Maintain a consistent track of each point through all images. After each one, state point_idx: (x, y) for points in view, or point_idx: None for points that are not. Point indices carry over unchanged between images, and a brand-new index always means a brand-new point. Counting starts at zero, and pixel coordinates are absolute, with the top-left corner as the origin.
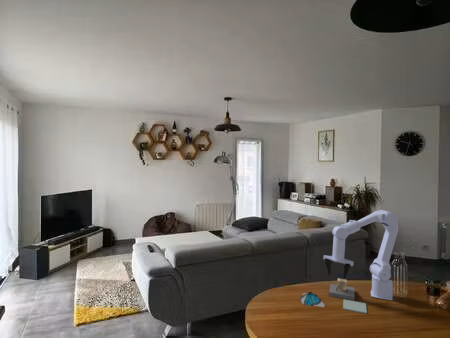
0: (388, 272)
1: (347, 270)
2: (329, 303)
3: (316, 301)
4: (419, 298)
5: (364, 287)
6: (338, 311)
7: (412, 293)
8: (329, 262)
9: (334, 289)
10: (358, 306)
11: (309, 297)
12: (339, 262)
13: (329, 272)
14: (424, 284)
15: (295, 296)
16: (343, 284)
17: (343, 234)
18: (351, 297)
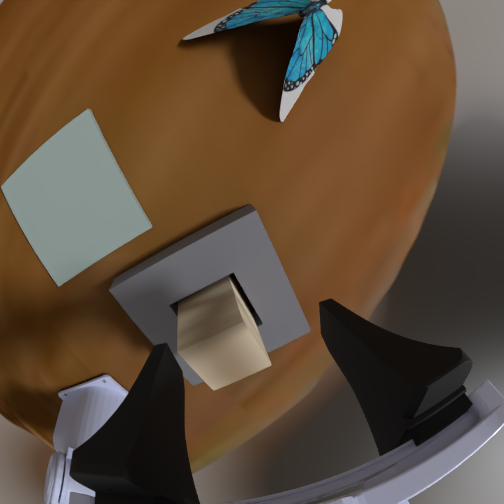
0: (45, 489)
1: (103, 426)
2: (186, 104)
3: (239, 17)
4: None
5: (193, 422)
6: (97, 62)
7: None
8: (407, 407)
9: (252, 282)
10: (50, 215)
11: (289, 4)
12: (260, 500)
13: (332, 316)
14: None
15: (373, 53)
16: (196, 331)
17: None
18: (124, 277)
